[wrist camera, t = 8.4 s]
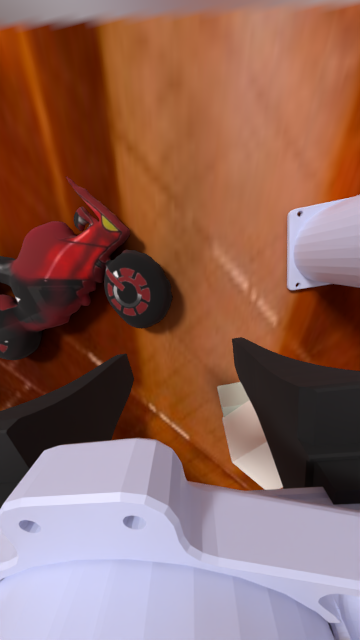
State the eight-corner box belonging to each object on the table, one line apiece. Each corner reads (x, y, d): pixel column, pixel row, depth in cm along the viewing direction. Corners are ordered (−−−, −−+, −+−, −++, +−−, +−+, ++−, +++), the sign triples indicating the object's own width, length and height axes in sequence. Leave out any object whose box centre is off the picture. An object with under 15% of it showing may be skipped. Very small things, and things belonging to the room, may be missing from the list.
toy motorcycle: (180, 308, 23) (134, 152, 16) (179, 327, 18) (112, 122, 11) (23, 346, 27) (-70, 234, 20) (-11, 370, 22) (-148, 236, 15)
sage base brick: (259, 377, 24) (272, 399, 20) (264, 410, 26) (277, 436, 22) (216, 385, 25) (221, 407, 21) (224, 417, 27) (230, 443, 23)
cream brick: (251, 398, 20) (271, 438, 16) (282, 427, 22) (308, 473, 17) (222, 418, 22) (231, 461, 17) (252, 445, 23) (269, 493, 18)
